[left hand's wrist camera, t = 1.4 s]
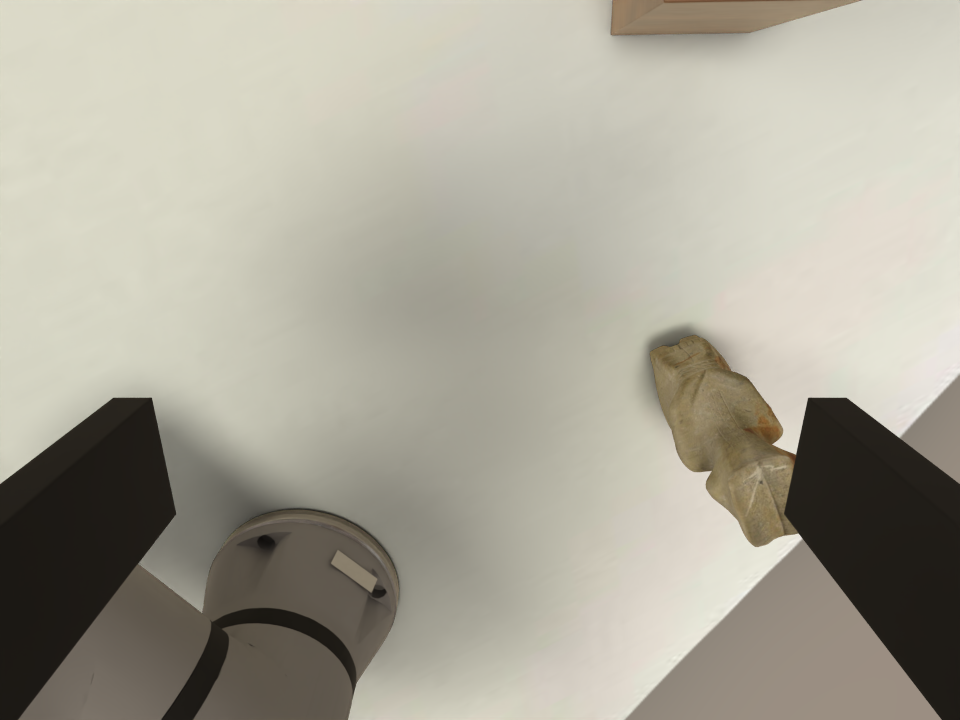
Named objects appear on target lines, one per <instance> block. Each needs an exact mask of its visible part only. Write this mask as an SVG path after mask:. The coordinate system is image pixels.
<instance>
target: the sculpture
mask: <svg viewBox="0 0 960 720" xmlns="http://www.w3.org/2000/svg"><path fill="white" fill-rule="evenodd" d="M650 358H651V362H652V365H653V369H654V375H655V383H656V388H657V392H658V396H659V400H660V404H661V407H662V410H663V413H664V416H665V418H666V420H667V422H668V424H669V426H670V428H671V429H672V434H673V438H674V441H675V446H676V450H677V453H678V455H679V457H680V459H681V461H682V462H683V464H684V465H685V466H686V467H687V468H688V469H690V470H691V471H693V472H705V471H712V472H711V474H710V475H709V477H708V479H707V481H706V489H707V491H708V492H709V494H710V495H711V496H712V498H713V499H715V500H716V501H717V502H719V503H720V504H721V505H722V506H724V507H725V508H726V509H727V510H728V511H729V512H730V513H731V514H732V515H733V516H734V517H735V518H736V519H737V520H738V522H739V524H740V526H741V529H742V531H743V533H744V535H745V537H746V538H747V540H748V541H749V542H750V543H751V544H752V545H753V546H755V547H759V546H763V545H767V544H769V543H770V542H771V541H773V540H774V539H776V538H778V537H781V536H785V535H793V534H798V532H797V531H796V529H795V528H794V527H793V525H792V524H791V523H790V521H789V520H788V519H787V518H786V516H785V515H784V511H785V506H786V501H787V497H788V492H789V487H790V482H791V477H792V473H793V468H794V463H795V458H796V455H795V454H793V453H790V452H787V451H785V450H782V449H780V448H778V447H776V446H774V445H772V444H773V443H775V442H776V441H777V440H778V439H779V438H780V437H781V436H782V434H783V428H782V426H781V424H780V423H779V421H778V419H777V418H776V416H775V415H774V413H773V411H772V409H771V407H770V406H769V405H768V404H767V403H766V402H765V401H764V399H763V398H762V396H761V395H760V394H759V392H758V391H757V390H756V388H755V387H754V385H753V384H752V383H751V382H750V380H749V379H748V378H747V377H745V376H743V375H741V374H738V373H736V372H732V371H731V370H730V368H729V366H728V364H727V363H726V361H725V359H724V358H723V357H722V356H721V355H720V354H719V352H718V351H717V350H716V349H715V348H714V347H713V346H712V345H711V344H710V343H709V342H708V341H706V340H705V339H703V338H699V337H698V336H696V335H692V336H688V337H685V338H682V339H680V341H679V344H677V345H674V346H672V347H668V346H661V347H658V348H657V349H655V350H653V351H651V352H650Z"/></svg>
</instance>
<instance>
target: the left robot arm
mask: <svg viewBox="0 0 960 720" xmlns="http://www.w3.org/2000/svg"><path fill="white" fill-rule="evenodd" d="M175 515H176V511H175V506H174V501H173V497H172V492H171V487H170V482H169V477H168V473H167V468H166V463H165V458H164V454H163V449H162V444H161V439H160V435H159V430H158V425H157V420H156V416H155V411H154V406H153V401H152V398H113V399H111V400H110V401H109V402H107V403H106V404H105V405H103V406H102V407H101V408H100V409H98V410H97V411H96V412H94V413H93V414H92V415H90V416H89V417H88V418H86V419H85V420H84V421H82V422H81V423H80V424H79V425H77V426H76V427H75V428H73V429H72V430H71V431H69V432H68V433H67V434H65V435H64V436H63V437H61V438H60V439H59V440H58V441H56V442H55V443H54V444H52V445H51V446H50V447H48V448H47V449H46V450H44V451H43V452H42V453H40V454H39V455H38V456H37V457H35V458H34V459H33V460H31V461H30V462H29V463H27V464H26V465H25V466H23V467H22V468H21V469H19V470H18V471H17V472H16V473H14V474H13V475H12V476H10V477H9V478H8V479H6V480H5V481H4V482H2V483H1V484H0V720H348V717H349V713H350V708H351V704H352V699H353V695H354V690H355V687H356V683H357V681H358V680H359V678H360V677H361V675H362V674H363V672H364V671H365V669H366V668H367V666H368V665H369V663H370V662H371V660H372V659H373V657H374V656H375V654H376V653H377V651H378V650H379V648H380V647H381V645H382V644H383V642H384V640H385V639H386V637H387V635H388V633H389V631H390V629H391V627H392V625H393V622H394V619H395V614H396V609H397V604H398V598H399V584H398V578H397V574H396V571H395V568H394V566H393V564H392V562H391V560H390V558H389V557H388V555H387V553H386V552H385V551H384V549H383V548H382V547H381V546H380V545H379V544H378V543H377V542H376V540H374V539H373V538H372V537H371V536H370V535H369V534H367V533H366V532H365V531H363V530H362V529H360V528H359V527H357V526H356V525H354V524H352V523H350V522H348V521H346V520H344V519H341V518H339V517H336V516H333V515H330V514H326V513H322V512H318V511H311V510H281V511H276V512H271V513H267V514H264V515H261V516H258V517H256V518H254V519H252V520H250V521H248V522H246V523H245V524H243V525H241V526H240V527H239V528H238V529H236V530H235V531H234V532H233V533H232V534H231V535H230V536H229V537H228V539H227V540H226V541H225V543H224V544H223V546H222V548H221V549H220V551H219V552H218V554H217V556H216V558H215V559H214V561H213V563H212V566H211V568H210V572H209V575H208V579H207V584H206V591H205V598H204V605H203V613H201V612H200V611H199V610H197V609H196V608H195V607H193V606H192V605H191V604H189V603H188V602H187V601H186V600H184V599H183V598H182V597H180V596H179V595H178V594H176V593H175V592H174V591H173V590H171V589H170V588H169V587H167V586H166V585H165V584H163V583H162V582H161V581H160V580H158V579H157V578H156V577H154V576H153V575H152V574H150V573H149V572H148V571H147V570H145V569H144V568H143V567H141V566H140V565H139V564H138V563H139V562H140V560H141V559H142V558H143V557H144V555H145V554H146V553H147V551H148V550H149V549H150V547H151V546H152V545H153V544H154V542H155V541H156V540H157V538H158V537H159V536H160V534H161V533H162V532H163V531H164V529H165V528H166V527H167V525H168V524H169V523H170V521H171V520H172V519H173V518H174V516H175ZM784 515H785V516H786V518H787V519H788V520H789V521H790V523H791V524H792V525H793V527H794V528H795V529H796V531H797V532H798V533H799V534H800V536H801V537H802V538H803V540H804V541H805V542H806V543H807V545H808V546H809V547H810V549H811V550H812V551H813V553H814V554H815V555H816V557H817V558H818V559H819V560H820V562H821V563H822V564H823V566H824V567H825V568H826V570H827V571H828V572H829V573H830V575H831V576H832V577H833V579H834V580H835V581H836V583H837V584H838V585H839V587H840V588H841V589H842V590H843V592H844V593H845V594H846V596H847V597H848V598H849V600H850V601H851V602H852V603H853V605H854V606H855V607H856V609H857V610H858V611H859V613H860V614H861V615H862V616H863V618H864V619H865V620H866V622H867V623H868V624H869V626H870V627H871V628H872V629H873V631H874V632H875V633H876V635H877V636H878V637H879V639H880V640H881V641H882V642H883V644H884V645H885V646H886V648H887V649H888V650H889V652H890V653H891V654H892V656H893V657H894V658H895V659H896V661H897V662H898V663H899V665H900V666H901V667H902V669H903V670H904V671H905V672H906V674H907V675H908V676H909V678H910V679H911V680H912V682H913V683H914V684H915V685H916V687H917V688H918V689H919V691H920V692H921V693H922V695H923V696H924V697H925V698H926V700H927V701H928V702H929V704H930V705H931V706H932V708H933V709H934V710H935V711H936V713H937V714H938V715H939V717H940V718H941V719H942V720H960V484H959V483H958V482H956V481H955V480H953V479H952V478H951V477H950V476H948V475H947V474H946V473H944V472H943V471H942V470H940V469H939V468H938V467H937V466H935V465H934V464H933V463H931V462H930V461H929V460H927V459H926V458H925V457H923V456H922V455H921V454H920V453H918V452H917V451H916V450H914V449H913V448H912V447H910V446H909V445H908V444H906V443H905V442H904V441H902V440H901V439H900V438H899V437H897V436H896V435H895V434H893V433H892V432H891V431H889V430H888V429H887V428H885V427H884V426H883V425H881V424H880V423H879V422H878V421H876V420H875V419H874V418H872V417H871V416H870V415H868V414H867V413H866V412H864V411H863V410H862V409H860V408H859V407H858V406H857V405H855V404H854V403H853V402H851V401H850V400H849V399H847V398H808V401H807V406H806V411H805V416H804V420H803V425H802V430H801V435H800V439H799V444H798V449H797V454H796V458H795V463H794V468H793V473H792V477H791V482H790V487H789V492H788V497H787V501H786V506H785V511H784Z"/></svg>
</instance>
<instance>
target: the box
mask: <svg viewBox="0 0 960 720" xmlns="http://www.w3.org/2000/svg"><path fill="white" fill-rule="evenodd" d="M858 1H861V0H613V6H612V23H611V35H646V34H707V33H750V32H754V31H757V30H761V29H764V28H768V27H771V26H775V25H778V24H782V23H785V22H788V21H792V20H795V19H799V18H802V17H806V16H809V15H813V14H816V13H820V12H823V11H827V10H830V9H833V8H837V7H840V6H844V5H847V4H851V3H854V2H858Z"/></svg>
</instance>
